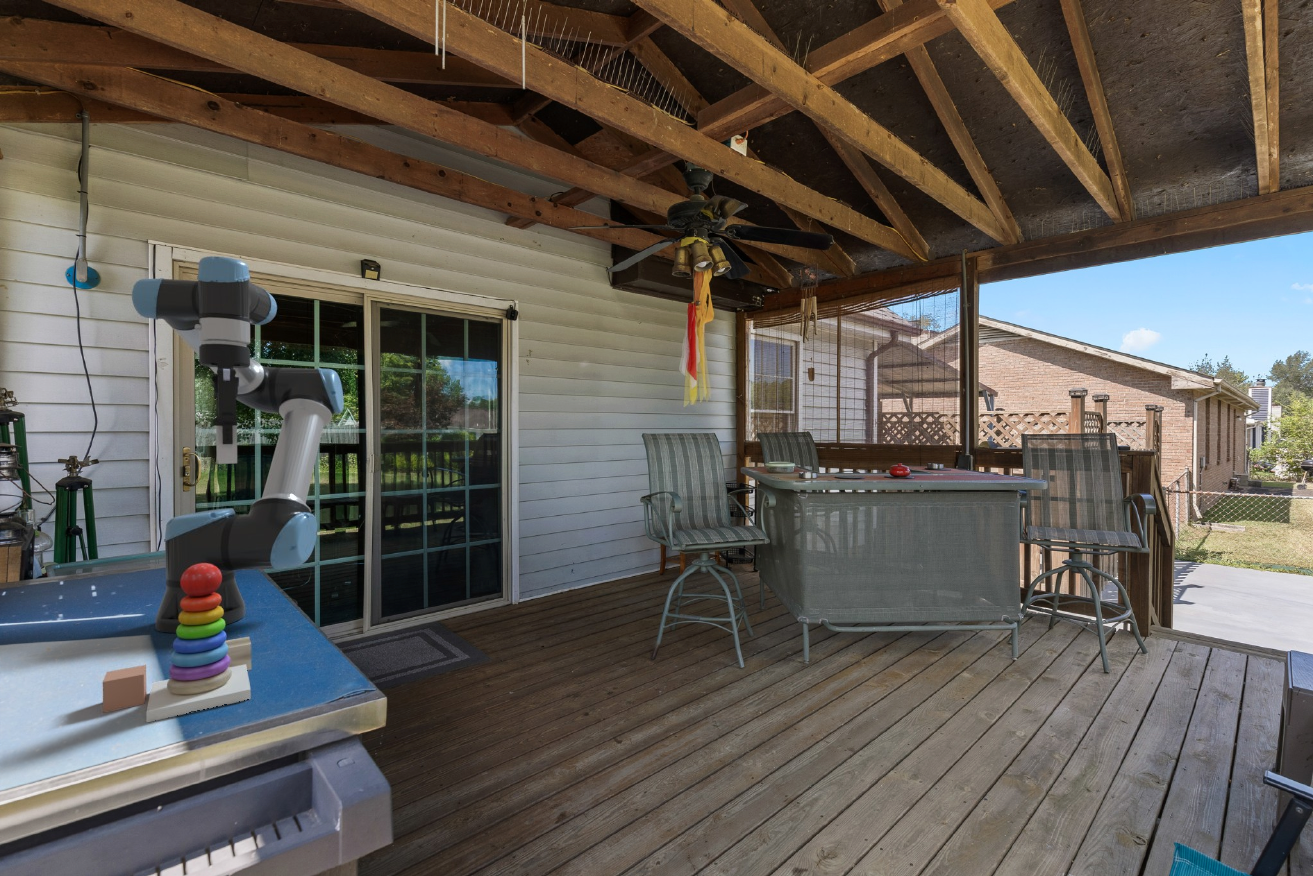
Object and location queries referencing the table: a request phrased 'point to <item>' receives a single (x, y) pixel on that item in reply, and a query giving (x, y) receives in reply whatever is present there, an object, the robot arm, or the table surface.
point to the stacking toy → (200, 635)
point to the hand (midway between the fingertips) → (226, 461)
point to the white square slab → (197, 696)
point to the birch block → (239, 652)
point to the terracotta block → (124, 688)
